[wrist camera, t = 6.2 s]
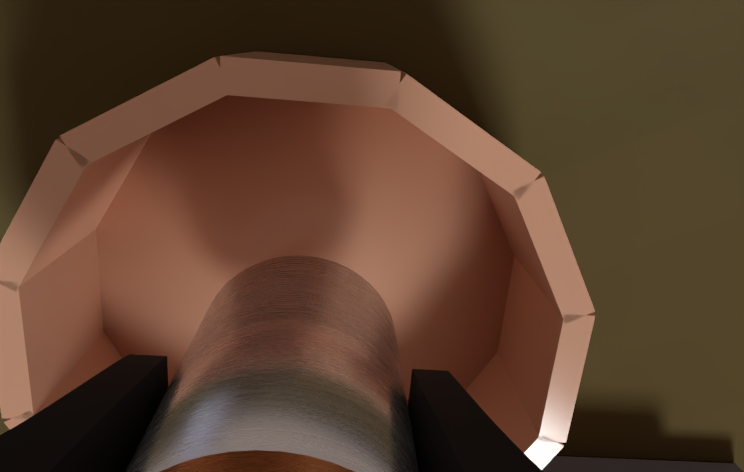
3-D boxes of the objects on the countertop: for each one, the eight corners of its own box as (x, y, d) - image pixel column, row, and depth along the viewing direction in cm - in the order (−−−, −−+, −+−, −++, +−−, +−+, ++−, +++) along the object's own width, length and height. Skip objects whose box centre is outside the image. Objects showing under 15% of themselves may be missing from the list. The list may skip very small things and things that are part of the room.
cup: (99, 454, 16) (24, 580, 12) (66, 34, 13) (-52, 31, 9) (490, 470, 17) (531, 593, 13) (562, 77, 13) (646, 92, 10)
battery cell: (206, 428, 13) (50, 864, 6) (194, 252, 11) (-25, 560, 5) (392, 427, 13) (444, 849, 6) (401, 256, 11) (477, 555, 5)
